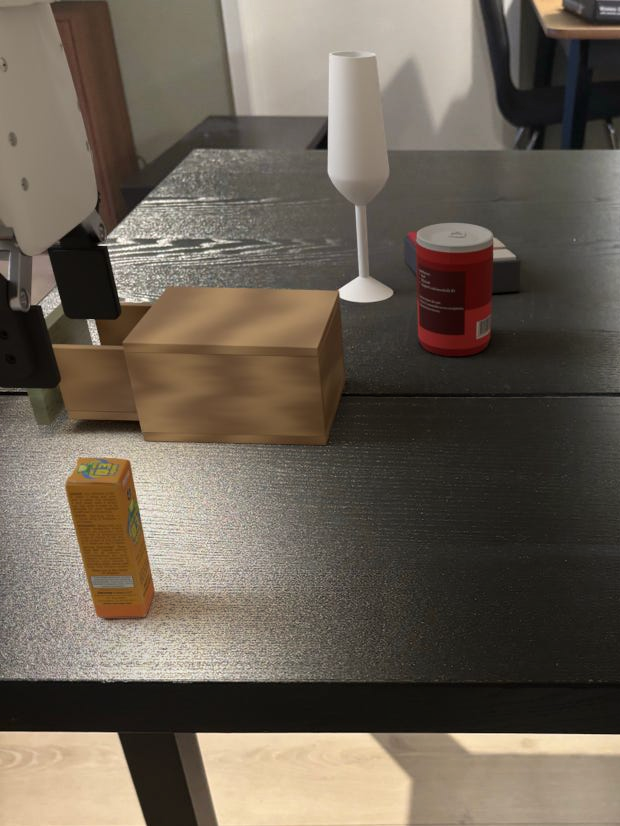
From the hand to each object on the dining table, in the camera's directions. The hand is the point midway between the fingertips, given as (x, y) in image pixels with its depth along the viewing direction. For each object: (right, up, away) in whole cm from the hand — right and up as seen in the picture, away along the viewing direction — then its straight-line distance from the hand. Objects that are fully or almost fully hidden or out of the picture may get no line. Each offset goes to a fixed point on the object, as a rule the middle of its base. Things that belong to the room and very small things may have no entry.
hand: (64, 349), depth 51 cm
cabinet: (+2, +5, +34) cm, 35 cm away
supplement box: (-1, -14, +11) cm, 18 cm away
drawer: (-11, +6, +34) cm, 36 cm away
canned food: (+20, +15, +48) cm, 54 cm away
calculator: (+20, +29, +65) cm, 74 cm away
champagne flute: (+9, +25, +60) cm, 65 cm away
